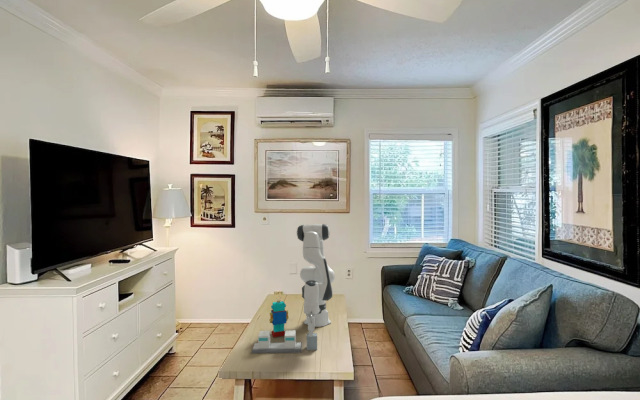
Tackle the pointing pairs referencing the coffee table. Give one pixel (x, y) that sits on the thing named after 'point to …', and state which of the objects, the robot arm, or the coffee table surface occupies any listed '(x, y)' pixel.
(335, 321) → the coffee table surface
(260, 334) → the rail rack
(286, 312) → the toy robot
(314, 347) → the block
